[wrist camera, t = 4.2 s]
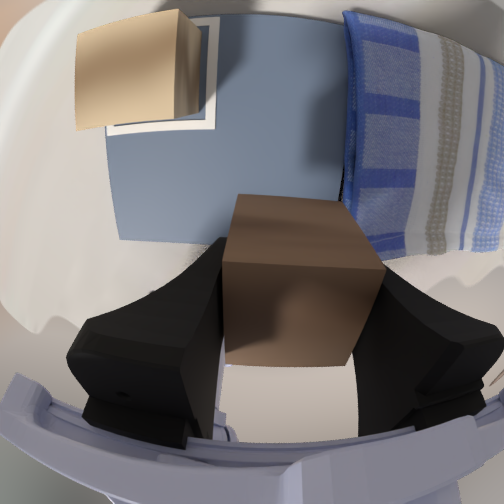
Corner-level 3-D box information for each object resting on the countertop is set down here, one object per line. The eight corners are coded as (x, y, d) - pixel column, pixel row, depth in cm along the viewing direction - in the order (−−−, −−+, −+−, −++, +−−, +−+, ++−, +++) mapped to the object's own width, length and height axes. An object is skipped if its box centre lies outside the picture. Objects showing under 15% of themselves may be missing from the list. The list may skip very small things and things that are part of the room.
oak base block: (198, 113, 15) (173, 118, 10) (119, 119, 15) (76, 131, 11) (201, 31, 12) (178, 8, 8) (120, 44, 12) (77, 34, 8)
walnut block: (324, 284, 13) (345, 365, 9) (236, 279, 13) (225, 364, 9) (342, 201, 11) (386, 269, 7) (237, 193, 11) (222, 260, 7)
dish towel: (514, 244, 19) (528, 257, 17) (331, 252, 20) (341, 275, 17) (538, 95, 10) (557, 101, 8) (336, 9, 11) (350, -4, 8)
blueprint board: (325, 245, 20) (328, 252, 19) (124, 234, 20) (119, 240, 20) (351, 30, 12) (356, 28, 11) (112, 34, 12) (105, 32, 11)
